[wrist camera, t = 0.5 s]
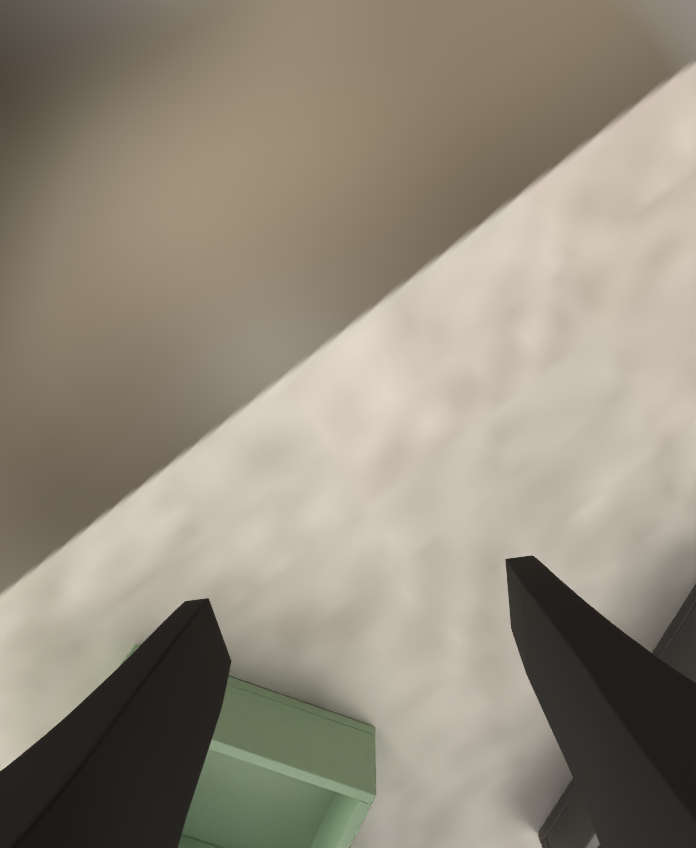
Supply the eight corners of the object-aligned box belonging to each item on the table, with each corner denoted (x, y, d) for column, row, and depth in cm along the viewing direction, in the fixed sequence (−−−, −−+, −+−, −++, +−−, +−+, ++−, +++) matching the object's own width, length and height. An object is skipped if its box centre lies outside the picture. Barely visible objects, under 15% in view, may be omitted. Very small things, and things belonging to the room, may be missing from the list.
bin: (305, 872, 26) (295, 955, 23) (88, 800, 25) (45, 873, 22) (375, 726, 23) (376, 795, 20) (135, 643, 23) (95, 699, 20)
